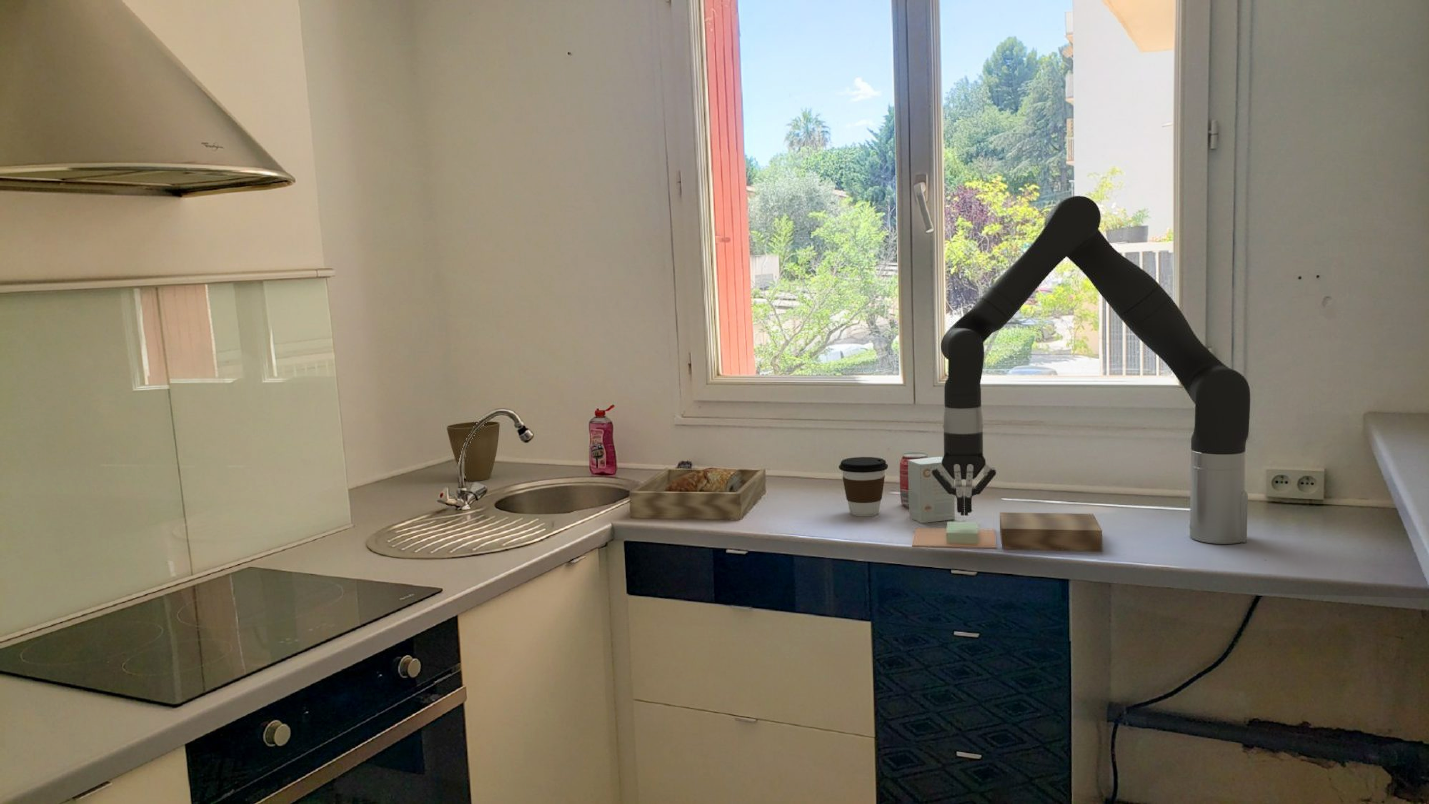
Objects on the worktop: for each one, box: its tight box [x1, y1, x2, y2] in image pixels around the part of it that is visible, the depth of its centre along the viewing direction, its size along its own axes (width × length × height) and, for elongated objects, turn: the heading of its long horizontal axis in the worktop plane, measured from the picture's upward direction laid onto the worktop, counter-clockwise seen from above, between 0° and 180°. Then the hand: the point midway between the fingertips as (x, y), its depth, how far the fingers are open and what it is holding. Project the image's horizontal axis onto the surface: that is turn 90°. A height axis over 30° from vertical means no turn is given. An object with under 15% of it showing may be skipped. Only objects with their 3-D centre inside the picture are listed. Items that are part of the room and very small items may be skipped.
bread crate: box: [628, 468, 767, 521], centre depth 236 cm, size 26×28×6 cm
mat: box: [911, 528, 997, 550], centre depth 196 cm, size 16×13×1 cm
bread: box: [661, 467, 742, 492], centre depth 233 cm, size 20×18×10 cm
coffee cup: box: [838, 456, 889, 517], centre depth 220 cm, size 11×11×12 cm
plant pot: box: [446, 420, 501, 482], centre depth 281 cm, size 15×15×16 cm
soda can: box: [899, 451, 929, 508], centre depth 224 cm, size 7×7×12 cm
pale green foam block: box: [946, 521, 979, 544], centre depth 195 cm, size 6×9×2 cm, turn 165°
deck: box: [999, 511, 1103, 552], centre depth 191 cm, size 18×13×4 cm
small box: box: [908, 456, 956, 524], centre depth 212 cm, size 8×6×13 cm
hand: (964, 514), depth 194 cm, fingers closed
